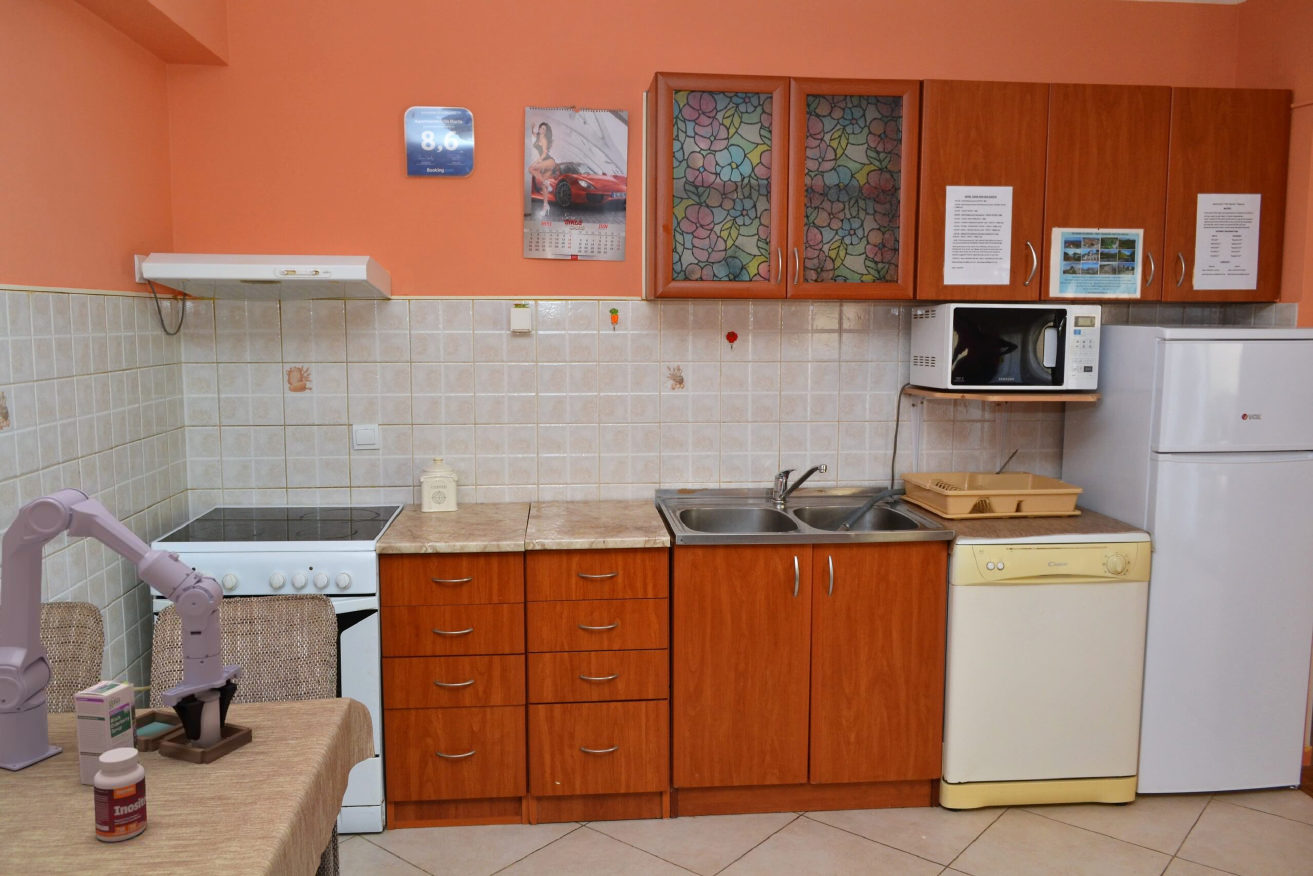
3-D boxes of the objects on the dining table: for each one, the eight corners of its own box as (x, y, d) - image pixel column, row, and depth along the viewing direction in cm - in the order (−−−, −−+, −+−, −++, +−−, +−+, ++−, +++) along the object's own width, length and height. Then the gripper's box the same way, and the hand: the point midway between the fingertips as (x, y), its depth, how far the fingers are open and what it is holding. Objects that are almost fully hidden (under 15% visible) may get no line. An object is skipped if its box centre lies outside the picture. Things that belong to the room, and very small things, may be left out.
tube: (183, 750, 156) (181, 697, 156) (206, 739, 161) (204, 687, 160) (205, 755, 155) (203, 701, 154) (228, 743, 159) (226, 691, 158)
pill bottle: (118, 847, 127) (114, 768, 126) (85, 838, 129) (80, 760, 128) (158, 825, 132) (154, 749, 131) (125, 817, 135) (121, 742, 134)
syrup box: (112, 788, 143) (107, 695, 142) (78, 784, 144) (73, 692, 143) (140, 771, 149) (135, 681, 147) (107, 768, 150) (102, 678, 148)
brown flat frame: (102, 742, 159) (102, 731, 159) (155, 720, 169) (155, 709, 169) (205, 765, 151) (204, 753, 151) (254, 739, 161) (254, 728, 161)
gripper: (184, 670, 148) (188, 754, 149) (254, 643, 162) (257, 720, 163) (150, 664, 151) (154, 747, 152) (222, 638, 164) (225, 714, 165)
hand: (205, 733), depth 158 cm, fingers closed on tube, 4 cm apart
